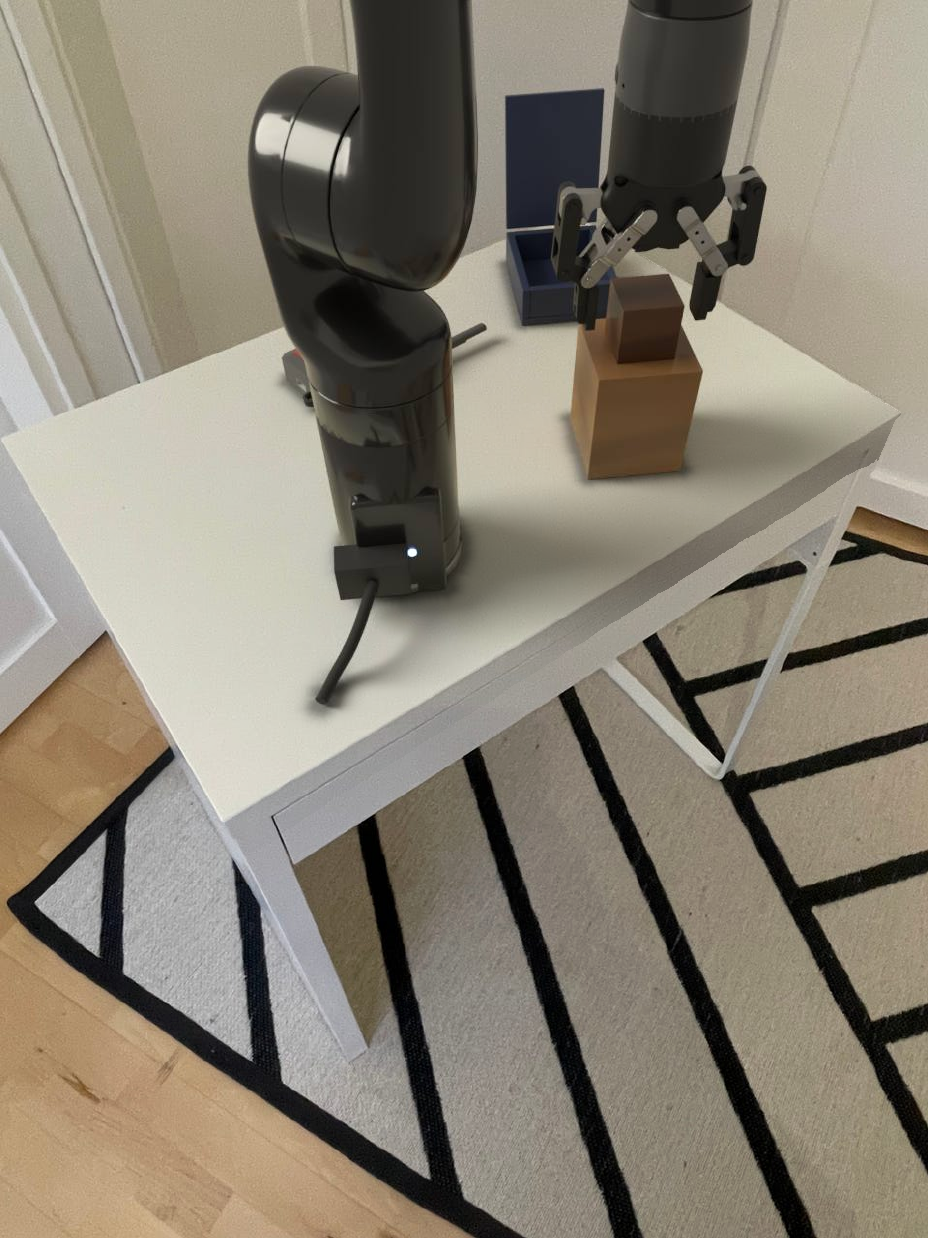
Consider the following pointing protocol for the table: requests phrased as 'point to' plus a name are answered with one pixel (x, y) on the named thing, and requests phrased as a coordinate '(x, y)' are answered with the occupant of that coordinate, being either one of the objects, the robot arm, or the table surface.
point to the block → (643, 318)
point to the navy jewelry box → (546, 277)
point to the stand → (631, 407)
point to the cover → (550, 151)
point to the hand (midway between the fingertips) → (642, 319)
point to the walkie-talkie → (298, 373)
